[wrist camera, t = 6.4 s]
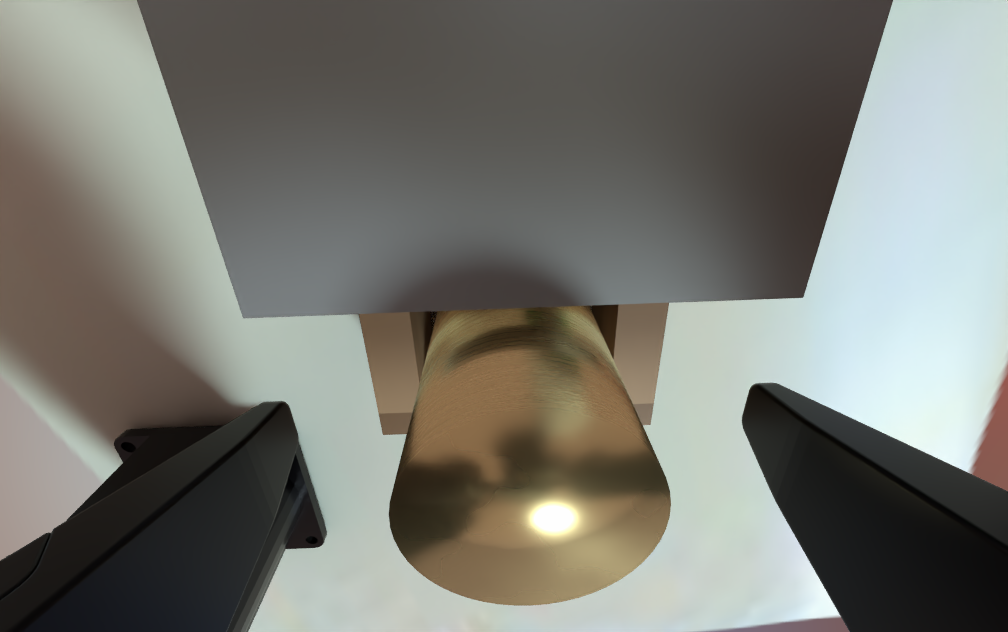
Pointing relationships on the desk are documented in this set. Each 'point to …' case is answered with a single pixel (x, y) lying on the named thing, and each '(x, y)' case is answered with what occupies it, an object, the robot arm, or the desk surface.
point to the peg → (525, 461)
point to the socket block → (514, 157)
